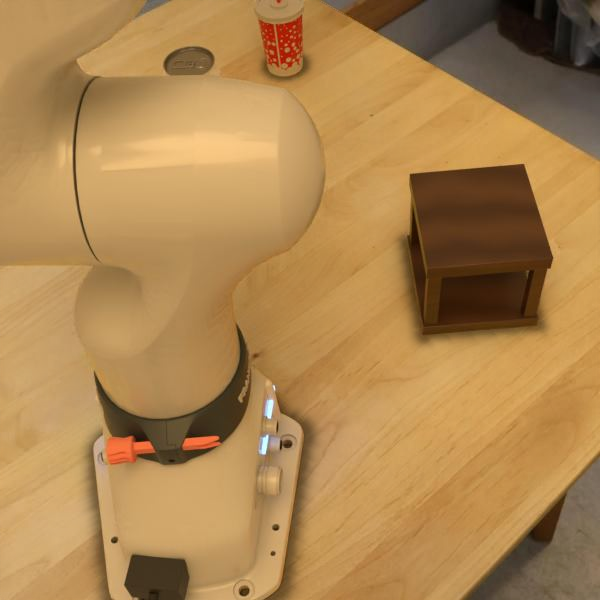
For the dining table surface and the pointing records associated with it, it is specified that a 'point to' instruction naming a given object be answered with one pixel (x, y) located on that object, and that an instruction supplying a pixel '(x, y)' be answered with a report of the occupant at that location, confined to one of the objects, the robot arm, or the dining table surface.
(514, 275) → the shelf
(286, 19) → the beverage cup
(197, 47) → the can
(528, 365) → the dining table surface
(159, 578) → the robot arm
